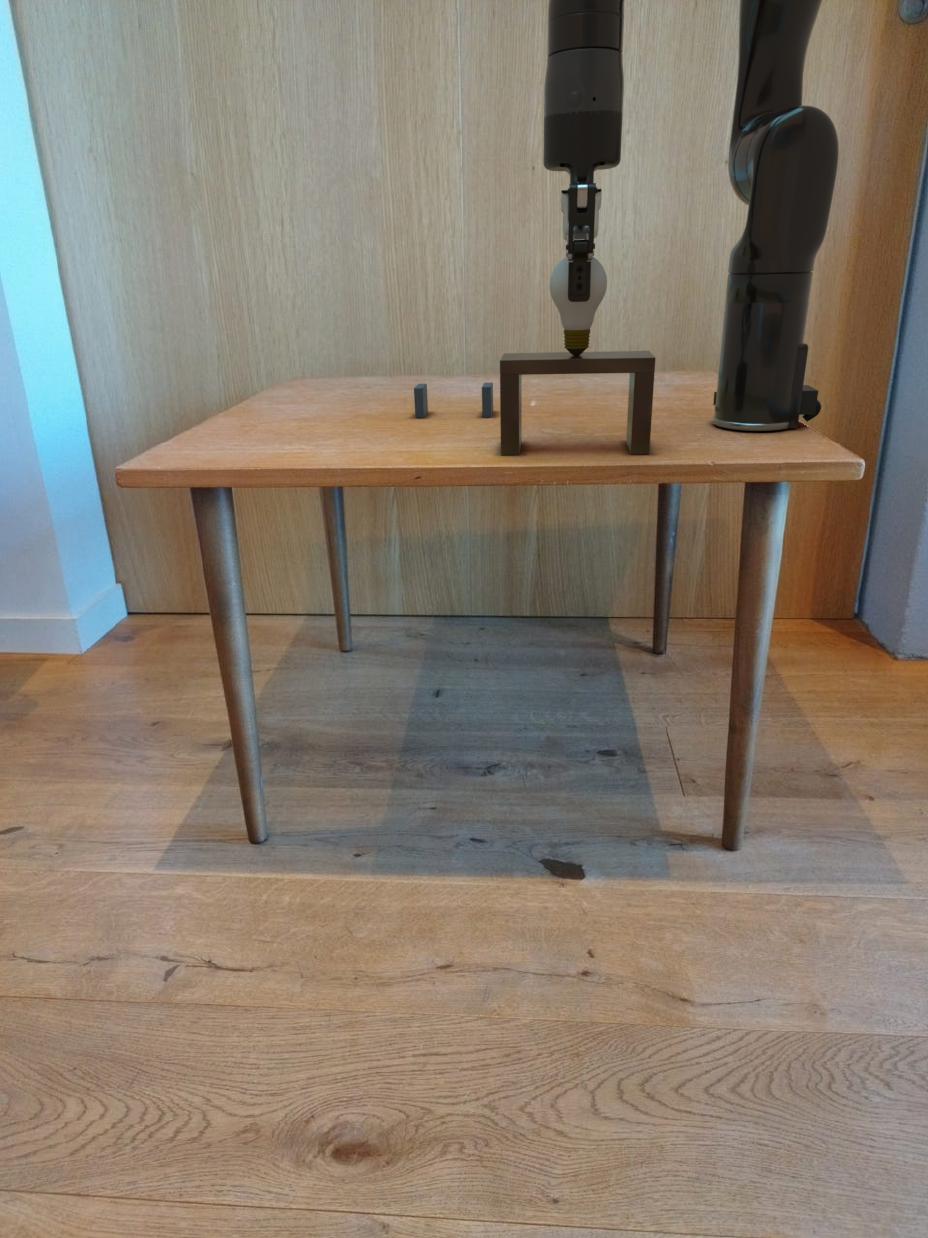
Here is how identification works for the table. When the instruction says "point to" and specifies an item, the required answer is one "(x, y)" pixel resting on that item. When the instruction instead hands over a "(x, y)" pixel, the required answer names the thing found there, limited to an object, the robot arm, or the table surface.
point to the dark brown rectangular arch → (586, 363)
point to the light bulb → (577, 304)
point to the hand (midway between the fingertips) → (578, 299)
